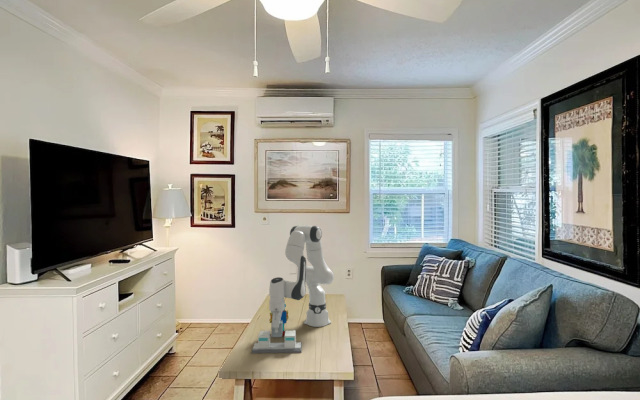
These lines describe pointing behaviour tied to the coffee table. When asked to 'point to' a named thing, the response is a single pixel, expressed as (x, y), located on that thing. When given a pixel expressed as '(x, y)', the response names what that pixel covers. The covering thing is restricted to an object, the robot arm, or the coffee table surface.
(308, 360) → the coffee table surface
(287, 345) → the rail rack
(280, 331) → the block
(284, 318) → the toy robot
